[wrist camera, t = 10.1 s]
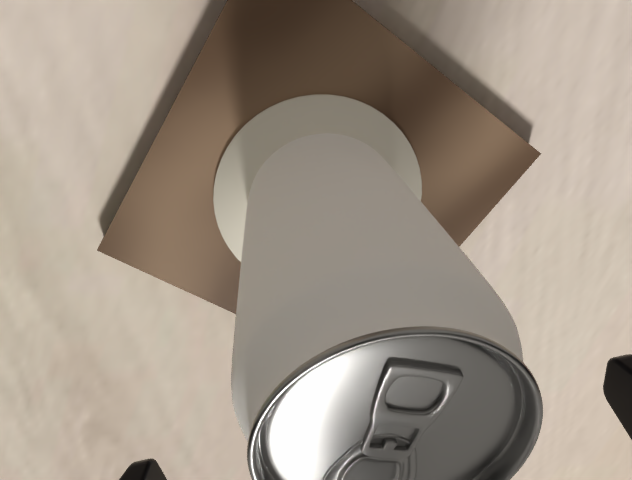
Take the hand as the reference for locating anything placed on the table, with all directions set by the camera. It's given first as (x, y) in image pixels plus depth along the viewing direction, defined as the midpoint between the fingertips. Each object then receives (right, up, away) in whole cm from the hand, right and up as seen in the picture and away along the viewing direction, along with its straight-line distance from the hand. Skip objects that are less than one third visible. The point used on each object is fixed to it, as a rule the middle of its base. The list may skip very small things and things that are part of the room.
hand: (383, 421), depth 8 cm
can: (-1, +5, +10) cm, 12 cm away
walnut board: (-1, +6, +11) cm, 13 cm away
